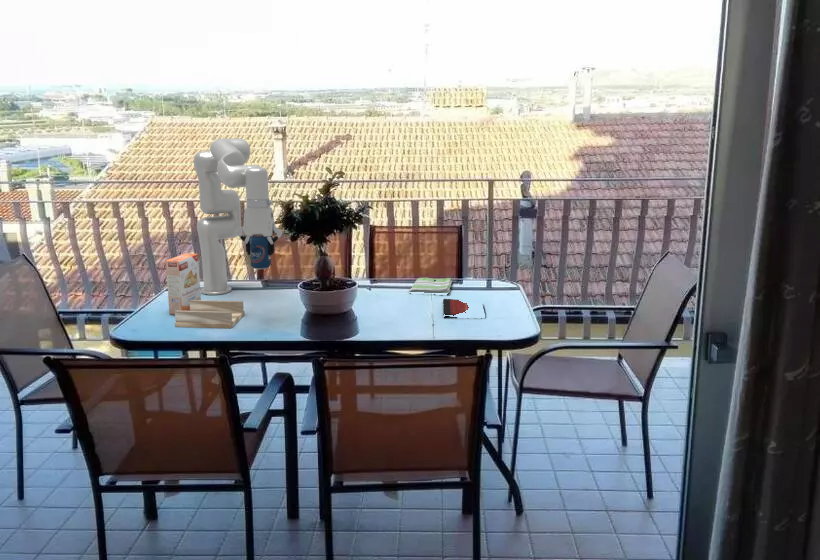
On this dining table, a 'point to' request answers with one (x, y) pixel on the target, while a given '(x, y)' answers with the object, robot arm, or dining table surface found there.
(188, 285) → the cracker box
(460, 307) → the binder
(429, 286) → the dish towel
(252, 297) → the dining table surface
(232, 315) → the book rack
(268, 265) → the soda can
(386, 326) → the dining table surface
